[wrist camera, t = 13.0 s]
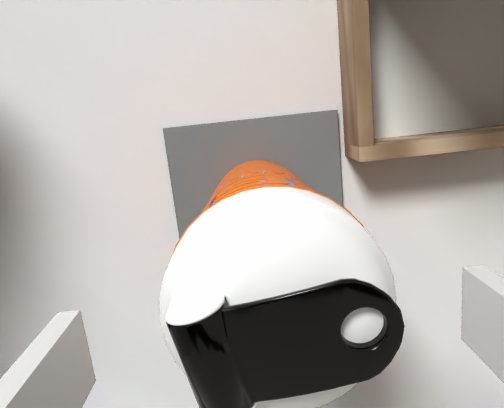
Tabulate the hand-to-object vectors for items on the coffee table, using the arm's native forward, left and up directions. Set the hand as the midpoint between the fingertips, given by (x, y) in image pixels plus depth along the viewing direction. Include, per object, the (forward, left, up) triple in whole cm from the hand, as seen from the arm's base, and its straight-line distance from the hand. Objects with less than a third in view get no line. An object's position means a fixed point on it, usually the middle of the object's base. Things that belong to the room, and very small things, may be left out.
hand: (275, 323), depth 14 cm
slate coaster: (0, 0, -19) cm, 19 cm away
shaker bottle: (0, 0, -19) cm, 19 cm away
